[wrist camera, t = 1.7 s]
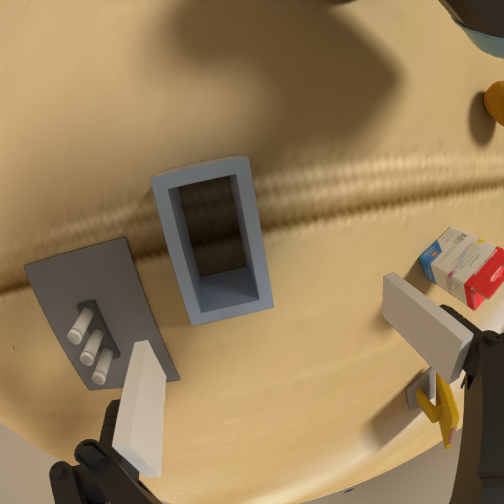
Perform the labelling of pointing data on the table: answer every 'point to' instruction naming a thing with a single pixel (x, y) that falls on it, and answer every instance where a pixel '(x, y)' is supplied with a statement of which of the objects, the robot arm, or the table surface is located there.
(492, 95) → the apple
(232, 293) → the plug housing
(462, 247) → the ink box
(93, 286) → the header
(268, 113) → the table surface
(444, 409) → the yellow framed monitor
